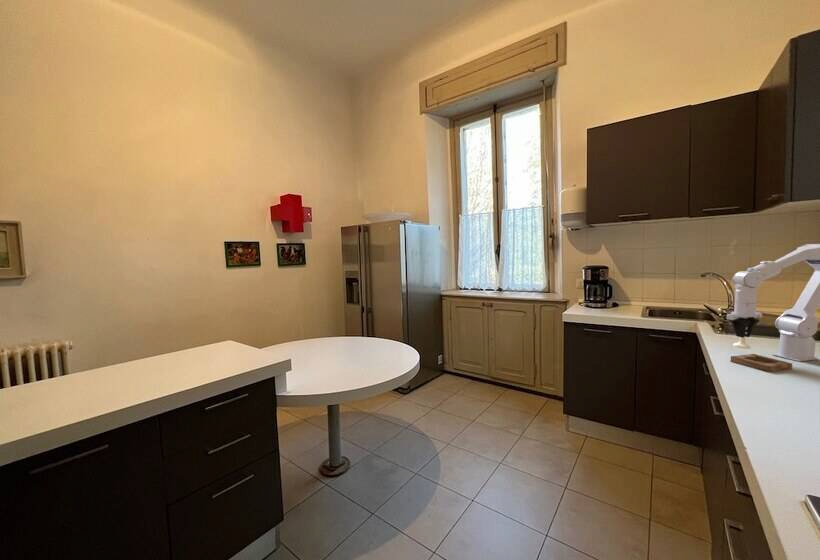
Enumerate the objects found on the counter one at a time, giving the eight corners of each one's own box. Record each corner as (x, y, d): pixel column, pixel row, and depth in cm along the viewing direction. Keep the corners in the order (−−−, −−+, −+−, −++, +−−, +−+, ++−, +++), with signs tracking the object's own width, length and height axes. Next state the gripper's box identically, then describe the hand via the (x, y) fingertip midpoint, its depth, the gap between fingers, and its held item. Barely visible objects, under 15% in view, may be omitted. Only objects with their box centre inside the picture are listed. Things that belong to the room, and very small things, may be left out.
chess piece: (754, 349, 124) (757, 323, 123) (739, 348, 125) (742, 322, 124) (743, 345, 129) (746, 320, 128) (729, 344, 130) (732, 320, 129)
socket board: (753, 358, 124) (753, 353, 124) (791, 369, 113) (792, 363, 113) (730, 361, 122) (730, 356, 122) (767, 372, 111) (768, 366, 111)
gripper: (747, 299, 130) (745, 332, 132) (718, 301, 128) (716, 335, 129) (769, 302, 123) (767, 337, 125) (739, 304, 121) (737, 340, 122)
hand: (742, 336), depth 126 cm, fingers closed on chess piece, 2 cm apart
